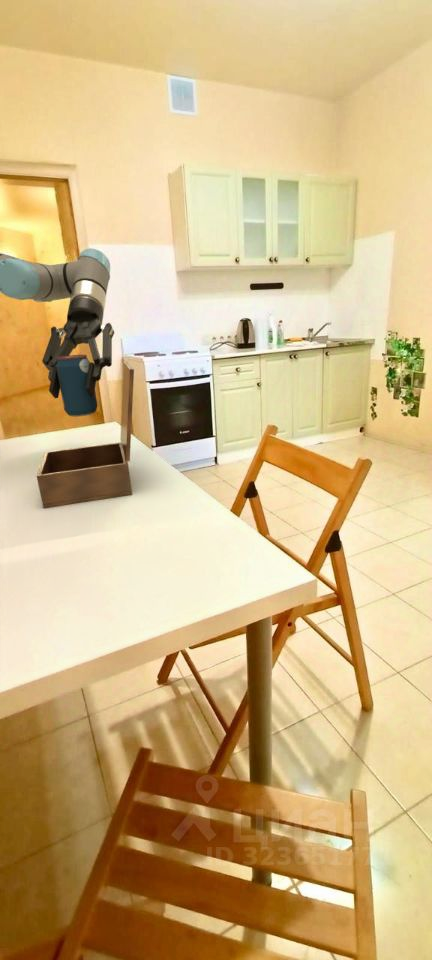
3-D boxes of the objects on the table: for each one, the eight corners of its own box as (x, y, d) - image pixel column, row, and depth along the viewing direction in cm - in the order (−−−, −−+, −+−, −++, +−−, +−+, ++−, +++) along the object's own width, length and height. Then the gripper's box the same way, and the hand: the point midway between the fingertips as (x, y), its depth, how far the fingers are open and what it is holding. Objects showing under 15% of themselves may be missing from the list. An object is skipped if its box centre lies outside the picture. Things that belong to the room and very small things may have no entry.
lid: (129, 369, 84) (134, 369, 85) (123, 361, 100) (127, 361, 101) (125, 461, 90) (129, 461, 90) (120, 440, 106) (123, 440, 106)
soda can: (104, 411, 96) (96, 354, 92) (76, 418, 92) (65, 358, 87) (87, 409, 101) (77, 354, 97) (59, 415, 96) (48, 357, 92)
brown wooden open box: (43, 508, 89) (36, 476, 87) (50, 479, 105) (44, 451, 103) (132, 494, 93) (128, 463, 90) (126, 468, 109) (122, 442, 106)
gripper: (134, 317, 103) (124, 401, 93) (51, 323, 105) (34, 406, 96) (124, 291, 96) (112, 379, 87) (36, 298, 98) (15, 385, 89)
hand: (71, 393), depth 91 cm, fingers closed on soda can, 7 cm apart
